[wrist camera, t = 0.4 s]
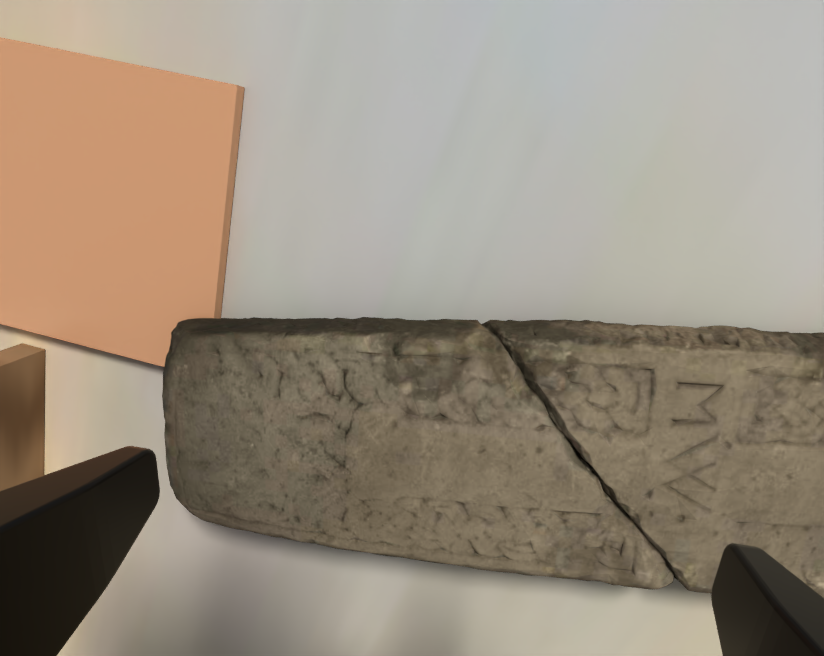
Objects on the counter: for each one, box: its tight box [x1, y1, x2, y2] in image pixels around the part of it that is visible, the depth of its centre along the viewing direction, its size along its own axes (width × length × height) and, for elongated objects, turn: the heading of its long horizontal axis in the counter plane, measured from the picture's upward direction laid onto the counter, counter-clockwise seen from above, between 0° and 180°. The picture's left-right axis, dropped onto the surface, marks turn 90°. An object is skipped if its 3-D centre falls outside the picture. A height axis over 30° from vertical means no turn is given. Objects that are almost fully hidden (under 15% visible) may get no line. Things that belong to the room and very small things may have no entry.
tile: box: [0, 38, 244, 367], centre depth 24 cm, size 12×12×1 cm
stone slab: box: [162, 317, 824, 598], centre depth 22 cm, size 10×3×30 cm
